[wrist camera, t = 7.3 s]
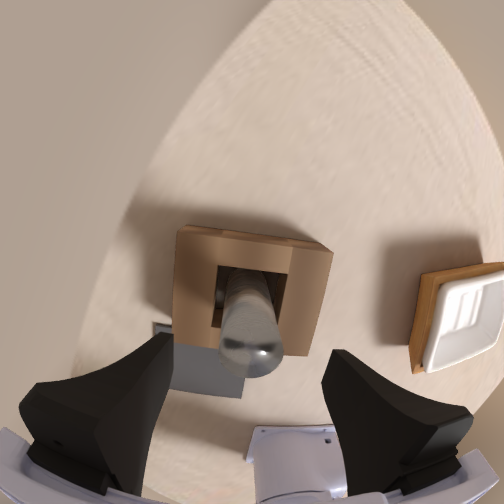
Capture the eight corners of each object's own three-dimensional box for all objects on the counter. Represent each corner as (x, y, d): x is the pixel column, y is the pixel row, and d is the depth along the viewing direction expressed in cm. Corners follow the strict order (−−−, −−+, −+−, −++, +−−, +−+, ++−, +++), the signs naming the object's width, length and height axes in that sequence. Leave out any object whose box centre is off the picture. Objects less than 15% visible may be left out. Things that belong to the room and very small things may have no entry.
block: (320, 243, 20) (333, 252, 17) (299, 336, 22) (307, 356, 19) (186, 224, 19) (177, 231, 16) (179, 322, 21) (171, 341, 18)
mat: (251, 337, 22) (251, 339, 21) (241, 396, 23) (241, 398, 23) (156, 323, 21) (155, 325, 21) (158, 384, 23) (157, 386, 22)
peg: (269, 269, 20) (289, 329, 12) (263, 305, 21) (276, 380, 12) (229, 263, 20) (221, 322, 11) (224, 300, 21) (215, 374, 12)
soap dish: (488, 252, 21) (519, 264, 16) (473, 330, 24) (497, 348, 19) (410, 264, 21) (444, 282, 16) (396, 355, 23) (419, 384, 18)
